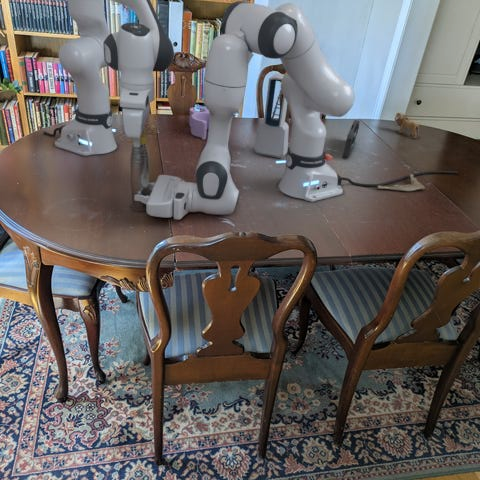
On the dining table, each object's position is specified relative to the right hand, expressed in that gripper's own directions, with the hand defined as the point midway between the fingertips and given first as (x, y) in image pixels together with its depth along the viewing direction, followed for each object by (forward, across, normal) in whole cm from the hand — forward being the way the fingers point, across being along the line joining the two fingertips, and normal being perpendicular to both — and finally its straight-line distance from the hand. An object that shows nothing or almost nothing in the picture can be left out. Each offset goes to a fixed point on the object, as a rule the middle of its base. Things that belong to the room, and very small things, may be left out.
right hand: (137, 191), depth 138 cm
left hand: (-1, 0, -16) cm, 16 cm away
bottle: (-1, 0, +5) cm, 5 cm away
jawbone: (-88, -35, +5) cm, 94 cm away
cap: (-1, 0, -18) cm, 18 cm away
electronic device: (-41, -52, +5) cm, 67 cm away
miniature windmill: (-46, -87, +5) cm, 99 cm away
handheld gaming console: (-75, -65, +5) cm, 100 cm away
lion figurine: (-106, -94, +5) cm, 141 cm away
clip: (-12, -71, +5) cm, 72 cm away
